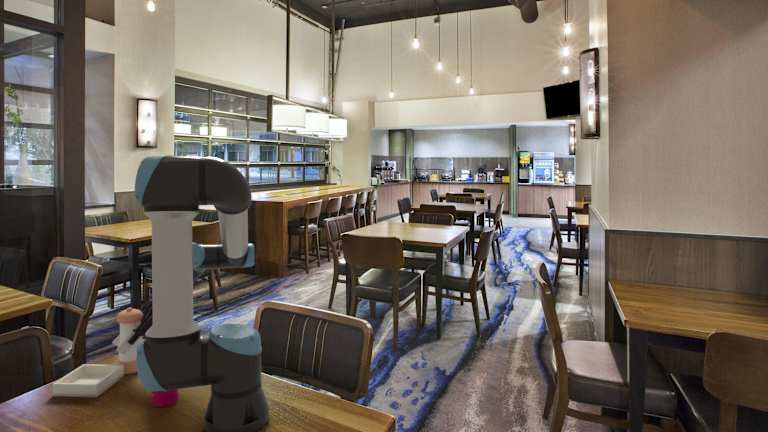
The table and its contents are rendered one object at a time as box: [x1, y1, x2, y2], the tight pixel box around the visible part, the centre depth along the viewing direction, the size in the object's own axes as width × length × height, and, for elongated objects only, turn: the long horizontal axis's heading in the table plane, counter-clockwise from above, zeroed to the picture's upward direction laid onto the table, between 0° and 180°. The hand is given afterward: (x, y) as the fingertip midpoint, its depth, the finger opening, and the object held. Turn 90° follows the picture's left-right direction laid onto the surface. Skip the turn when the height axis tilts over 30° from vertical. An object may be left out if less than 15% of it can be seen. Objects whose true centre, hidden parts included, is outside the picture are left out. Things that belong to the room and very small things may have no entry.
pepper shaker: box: [115, 307, 144, 375], centre depth 132 cm, size 7×7×19 cm
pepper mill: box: [149, 389, 180, 408], centre depth 114 cm, size 7×7×20 cm
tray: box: [51, 363, 125, 398], centre depth 122 cm, size 12×12×4 cm
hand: (118, 348), depth 130 cm, fingers closed on pepper shaker, 6 cm apart
